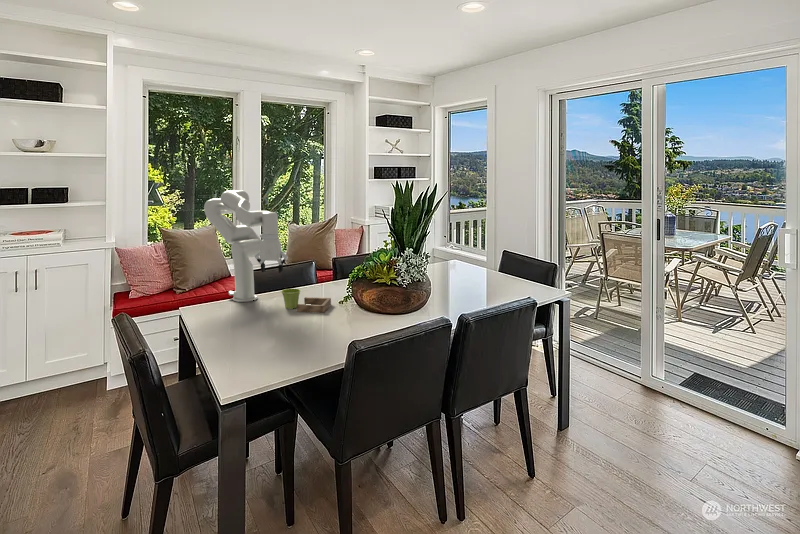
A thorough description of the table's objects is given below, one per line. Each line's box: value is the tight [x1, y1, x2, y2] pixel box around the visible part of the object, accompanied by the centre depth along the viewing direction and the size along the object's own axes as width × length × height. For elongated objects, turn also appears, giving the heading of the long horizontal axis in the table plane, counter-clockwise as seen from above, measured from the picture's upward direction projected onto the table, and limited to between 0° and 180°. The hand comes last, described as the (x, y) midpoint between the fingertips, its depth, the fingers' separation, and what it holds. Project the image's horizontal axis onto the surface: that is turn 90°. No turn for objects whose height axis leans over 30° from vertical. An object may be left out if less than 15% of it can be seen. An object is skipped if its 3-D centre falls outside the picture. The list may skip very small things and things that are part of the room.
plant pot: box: [281, 288, 301, 310], centre depth 243 cm, size 9×9×9 cm
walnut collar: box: [296, 296, 332, 314], centre depth 242 cm, size 14×15×4 cm
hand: (271, 271), depth 241 cm, fingers open, 8 cm apart
